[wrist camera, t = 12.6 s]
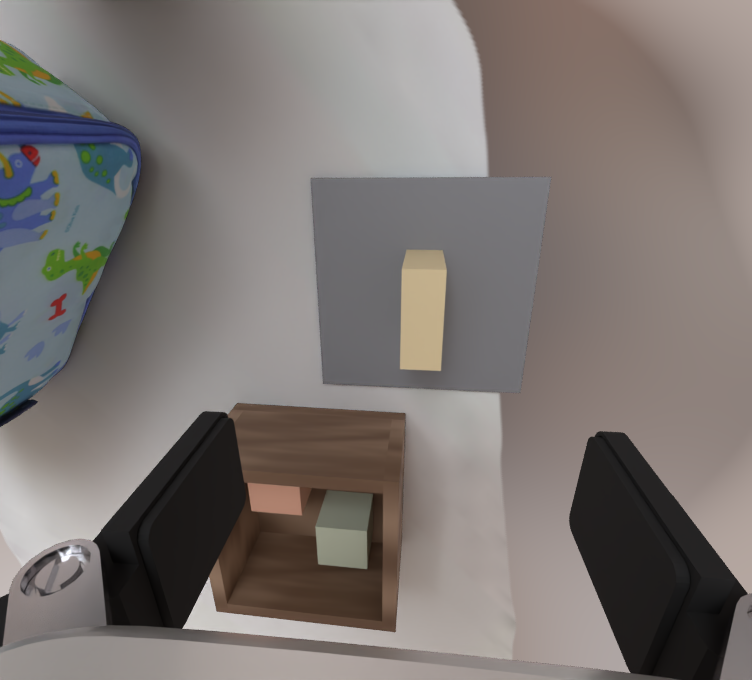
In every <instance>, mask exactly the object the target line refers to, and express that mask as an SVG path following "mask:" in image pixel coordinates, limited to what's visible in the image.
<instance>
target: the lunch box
mask: <svg viewBox="0 0 752 680" xmlns="http://www.w3.org/2000/svg"><path fill="white" fill-rule="evenodd" d="M140 171H141V152H140V144H139V141H138V139H137V138H136V136H135V135H134V134H133V133H132V132H131V131H129V130H128V129H127V128H125V127H123V126H121V125H119V124H116V123H113V122H110V121H109V120H108V119H107V118H106V117H105V116H104V115H103V114H102V113H101V112H99V111H98V110H97V109H96V108H95V107H94V106H92V105H91V104H90V103H88V102H87V101H86V100H85V99H83V98H82V97H81V96H79V95H78V94H77V93H75V92H74V91H73V90H72V89H70V88H69V87H68V86H66V85H65V84H64V83H63V82H61V81H60V80H59V79H57V78H56V77H54V76H53V75H52V74H50V73H49V72H47V71H46V70H44V69H43V68H42V67H40V66H39V65H38V64H37V63H36V62H35V61H34V60H32V59H31V58H30V57H29V56H27V55H26V54H25V53H24V52H22V51H21V50H19V49H18V48H16V47H14V46H12V45H11V44H8V43H6V42H4V41H2V40H0V427H1V426H3V425H4V424H6V423H8V422H9V421H11V420H13V419H14V418H16V417H17V416H19V415H21V414H22V413H24V412H25V411H27V410H28V409H30V408H31V407H32V406H34V405H35V404H36V403H38V401H35V400H29V399H30V398H31V397H32V396H34V395H35V394H36V393H37V392H38V391H39V390H41V389H42V388H43V387H44V386H45V385H46V384H47V383H48V381H49V380H50V379H51V378H52V377H53V376H55V375H56V374H57V373H58V372H59V371H60V370H61V369H62V368H63V367H64V366H65V364H66V363H67V360H68V358H69V356H70V353H71V349H72V346H73V343H74V341H75V338H76V335H77V332H78V330H79V327H80V325H81V323H82V321H83V318H84V316H85V313H86V310H87V308H88V305H89V303H90V301H91V298H92V296H93V293H94V290H95V288H96V286H97V285H98V282H99V280H100V277H101V275H102V272H103V269H104V266H105V264H106V262H107V259H108V257H109V255H110V253H111V251H112V249H113V247H114V245H115V243H116V241H117V238H118V236H119V234H120V232H121V230H122V227H123V225H124V222H125V220H126V217H127V215H128V211H129V208H130V206H131V204H132V201H133V198H134V195H135V192H136V189H137V186H138V182H139V177H140Z"/></svg>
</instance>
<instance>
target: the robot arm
mask: <svg viewBox="0 0 752 680" xmlns="http://www.w3.org/2000/svg"><path fill="white" fill-rule="evenodd" d="M245 500H246V491H245V485H244V479H243V473H242V467H241V461H240V455H239V449H238V443H237V437H236V431H235V425H234V421H233V419H232V418H228V415H227V414H226V413H225V412H208V411H205V412H202V413H201V414H200V415H199V417H198V418H197V419H196V420H195V421H194V422H193V424H192V425H191V426H190V427H189V428H188V429H187V431H186V432H185V433H184V434H183V435H182V436H181V438H180V439H179V440H178V441H177V442H176V443H175V445H174V446H173V447H172V448H171V449H170V450H169V452H168V453H167V454H166V455H165V456H164V457H163V459H162V460H161V461H160V462H159V463H158V464H157V466H156V467H155V468H154V469H153V470H152V471H151V473H150V474H149V475H148V476H147V477H146V478H145V480H144V481H143V482H142V483H141V484H140V485H139V487H138V488H137V489H136V490H135V491H134V492H133V494H132V495H131V496H130V497H129V498H128V499H127V501H126V502H125V503H124V504H123V505H122V506H121V508H120V509H119V510H118V511H117V512H116V514H115V515H114V516H113V517H112V518H111V519H110V521H109V522H108V523H107V524H106V525H105V526H104V528H103V529H102V530H101V532H100V533H99V534H98V536H97V537H96V538H95V539H94V540H93V541H91V540H86V539H75V540H68V541H65V542H62V543H59V544H56V545H54V546H52V547H50V548H48V549H46V550H44V551H42V552H41V553H39V554H38V555H36V556H35V557H33V558H32V559H31V560H30V561H29V562H28V563H26V564H25V565H24V566H23V567H22V568H21V569H20V571H19V572H18V574H17V575H16V576H15V578H14V579H13V581H12V584H11V587H10V590H9V594H7V595H5V596H3V597H1V598H0V680H752V594H747V592H746V591H745V590H744V588H743V587H742V586H741V584H740V583H739V582H738V580H737V579H736V578H735V577H734V575H733V574H732V573H731V571H730V570H729V569H728V567H727V566H726V565H725V563H724V562H723V561H722V559H721V558H720V557H719V555H718V554H717V553H716V551H715V550H714V549H713V548H712V546H711V545H710V544H709V542H708V541H707V540H706V538H705V537H704V536H703V534H702V533H701V532H700V531H699V529H698V528H697V526H696V525H695V524H694V523H693V521H692V520H691V519H690V517H689V516H688V515H687V513H686V512H685V511H684V509H683V508H682V507H681V505H680V504H679V503H678V502H677V500H676V499H675V498H674V496H673V495H672V494H671V493H670V492H669V491H668V489H667V488H666V487H665V486H664V484H663V483H662V481H661V480H660V479H659V477H658V476H657V475H656V473H655V472H654V471H653V469H652V468H651V467H650V465H649V464H648V463H647V462H646V460H645V459H644V458H643V456H642V455H641V454H640V452H639V451H638V450H637V448H636V447H635V446H634V444H633V443H632V442H631V441H630V439H629V438H628V436H627V435H626V434H625V433H621V432H601V431H600V432H598V433H597V434H596V435H595V437H590V438H589V439H588V442H587V446H586V450H585V454H584V459H583V463H582V466H581V471H580V475H579V479H578V483H577V487H576V491H575V495H574V499H573V503H572V507H571V511H570V517H569V519H570V520H569V522H570V529H571V531H572V534H573V536H574V539H575V541H576V544H577V546H578V549H579V551H580V553H581V556H582V558H583V561H584V563H585V565H586V568H587V570H588V573H589V575H590V578H591V580H592V583H593V585H594V587H595V590H596V592H597V595H598V597H599V599H600V602H601V604H602V606H603V609H604V612H605V614H606V616H607V619H608V621H609V623H610V626H611V629H612V631H613V633H614V636H615V638H616V641H617V643H618V645H619V648H620V650H621V653H622V655H623V657H624V660H625V662H626V665H627V667H628V669H629V671H630V672H631V673H625V672H616V671H608V670H600V669H591V668H583V667H574V666H564V665H554V664H544V663H535V662H525V661H516V660H506V659H497V658H487V657H478V656H468V655H458V654H448V653H438V652H428V651H418V650H408V649H398V648H388V647H377V646H367V645H357V644H346V643H336V642H326V641H315V640H304V639H294V638H283V637H272V636H261V635H250V634H239V633H228V632H218V631H205V630H191V629H182V628H183V626H184V625H185V623H186V621H187V619H188V617H189V615H190V613H191V611H192V609H193V607H194V605H195V603H196V601H197V599H198V597H199V595H200V593H201V591H202V589H203V587H204V585H205V583H206V581H207V579H208V577H209V575H210V573H211V571H212V569H213V567H214V565H215V563H216V561H217V559H218V557H219V555H220V553H221V551H222V549H223V547H224V545H225V543H226V541H227V539H228V537H229V535H230V533H231V531H232V529H233V527H234V526H235V524H236V522H237V520H238V518H239V516H240V514H241V512H242V510H243V507H244V505H245Z"/></svg>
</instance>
